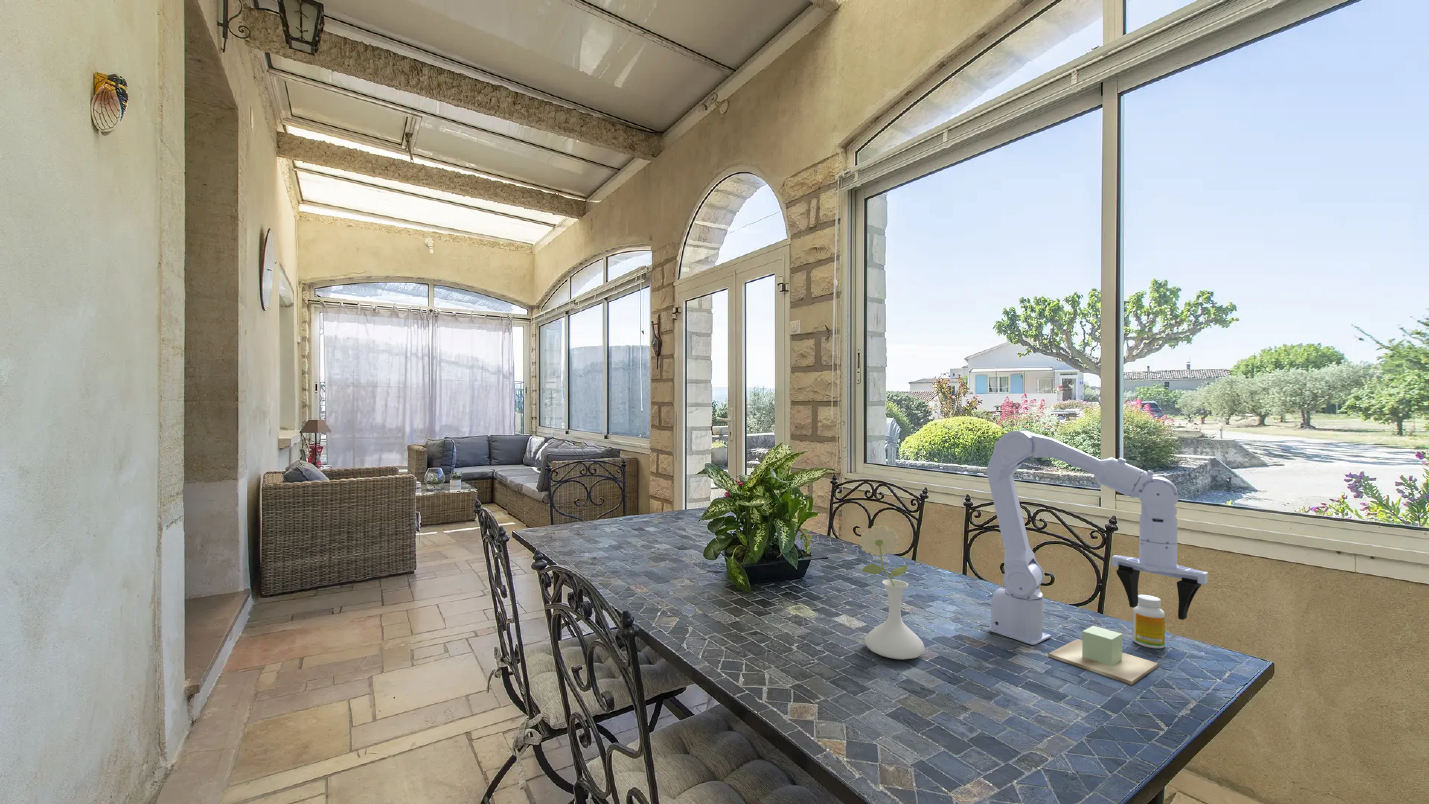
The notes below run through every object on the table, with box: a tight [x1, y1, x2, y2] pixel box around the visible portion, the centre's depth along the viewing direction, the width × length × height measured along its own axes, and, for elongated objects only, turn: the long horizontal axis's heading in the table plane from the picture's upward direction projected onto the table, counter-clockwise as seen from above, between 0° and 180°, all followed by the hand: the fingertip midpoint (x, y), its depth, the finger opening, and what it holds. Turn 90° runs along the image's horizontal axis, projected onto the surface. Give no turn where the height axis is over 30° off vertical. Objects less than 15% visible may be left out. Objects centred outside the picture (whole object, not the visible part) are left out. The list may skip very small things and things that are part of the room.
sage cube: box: [1081, 625, 1123, 666], centre depth 111 cm, size 5×5×5 cm
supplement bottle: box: [1132, 594, 1166, 649], centre depth 120 cm, size 5×5×10 cm
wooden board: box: [1048, 638, 1159, 686], centre depth 111 cm, size 14×13×1 cm
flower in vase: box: [858, 524, 926, 660], centre depth 114 cm, size 13×11×25 cm
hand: (1157, 612), depth 109 cm, fingers open, 7 cm apart
